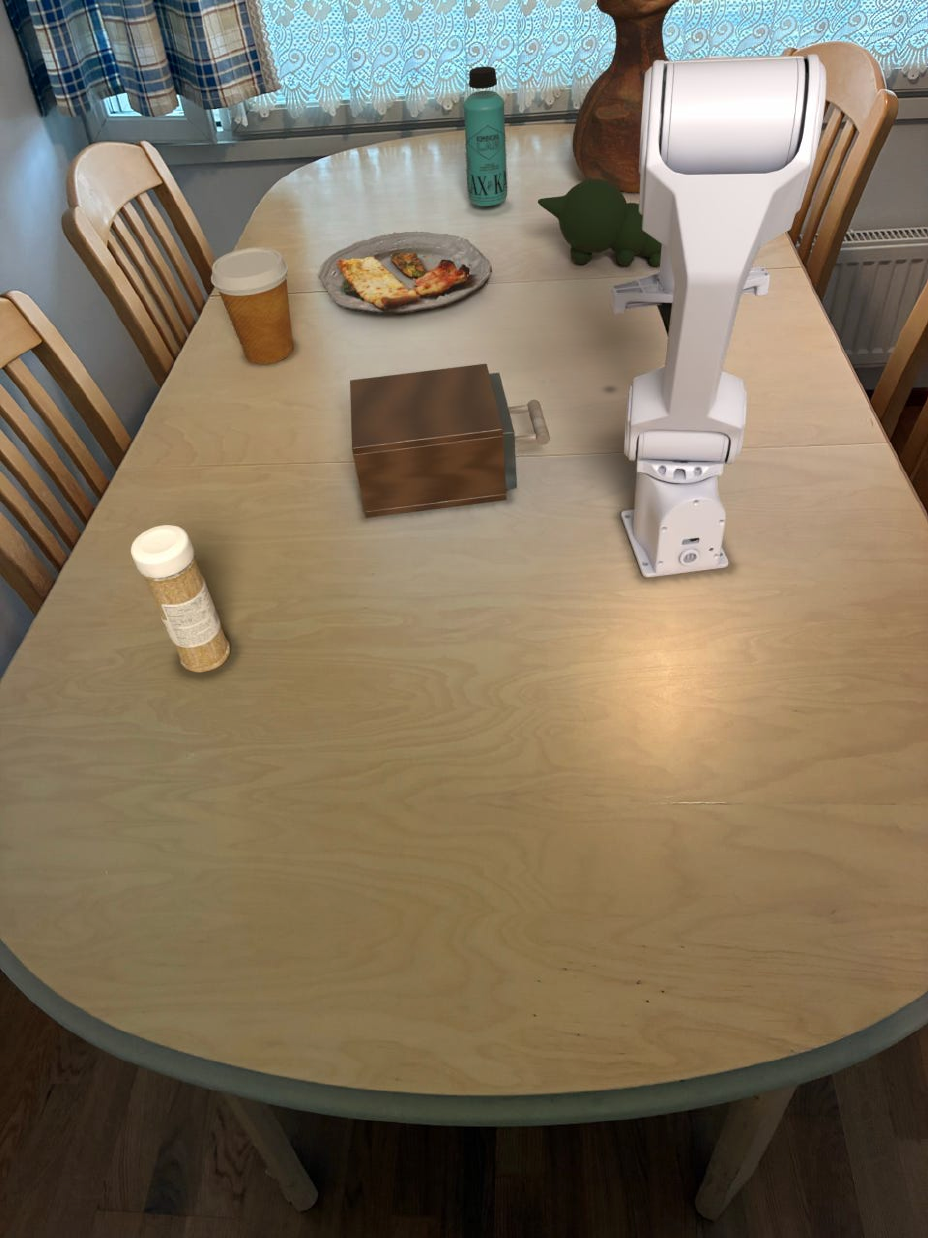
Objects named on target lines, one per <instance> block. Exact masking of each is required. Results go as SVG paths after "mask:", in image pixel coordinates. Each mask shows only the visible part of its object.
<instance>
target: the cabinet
mask: <svg viewBox="0 0 928 1238" xmlns="http://www.w3.org/2000/svg"><path fill="white" fill-rule="evenodd" d="M489 374H490V371H489V367H488V363H479V364H471V365H463V366H455V367H447V368H438V369H430V370H424V371H414V372H406V373H398V374H389V375H382V376H375V377H366V378H359V379H358V378H357V379H351V380H349V395H350V398H349V399H350V432H351V433H350V435H351V437H350V438H351V450H352V451H351V452H352V456H353V462H354V466H355V472H356V476H357V482H358V488H359V491H360V497H361V502H362V507H363V512H364V516H365V518H366V519H367V518H374V517H383V516H390V515H399V514H407V513H415V512H422V511H423V512H424V511H430V510H438V509H445V508H452V507H454V508H455V507H461V506H462V507H463V506H469V505H477V504H486V503H493V502H494V503H495V502H500V501H507V500H508V499H507V489H506V479H505V461H504V443H503V428H502V424H501V420H500V416H499V412H498V408H497V404H496V399H495V395H494V391H493V387H492V383H491V379H490V375H489Z"/></svg>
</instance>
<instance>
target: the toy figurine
mask: <svg viewBox="0 0 928 1238" xmlns="http://www.w3.org/2000/svg"><path fill="white" fill-rule="evenodd" d="M537 204H538V205H539V206H540V207H542V208H543V209H544V210H545V211H547V212H549V213H550V214H551V215H553V216H554V217H555V218H557V220H558V224H559V225H558V226H559V229H560V231H561V232H560V233H561V234H562V237H563V238H564V240H565V241H566V242H567V244H568V245H569V246H570V257H571V260H572V261H573V262H574V264H575V265H576V264H577V265H581V266H582V265H586V264H587V263H588V262H590V261H591V260H592V258H593V254H598V253H603V252H605V251H607V250H609V249H611V250H612V252H614V253H616V261H617V264H620V265H621V266H622V267H627V266H630V265H631V264H632V263H633V262H634V261H635V259H636V258H635V255H638V254H641V255H642V256H644V257H646V258H648V262H649V264H650V265H651V267H655V268H658V267H660V260H661V248H662V244H661V243H660V242H659V241H657V240H656V239H654V238H653V237H651V236H650V235H648V234H647V233H646V232H644V231H643V230H642V222H643V215H641V214H640V213H639V203H638V202H637V203H636V202H627V200H626V198H625V196H624V194H623V193H622V191H620V190H619V189H618V188H617V187H616V186H615V185H613V184H611V183H610V182H607V181H604V180H601V179H585V180H582V181H581V182H578V183H577V184H575V185H573V187H571V188H570V189H569V190H568V191H567V193H566V194H564V195H560V196H552V197H544V198H539V199H538V200H537Z"/></svg>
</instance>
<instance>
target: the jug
mask: <svg viewBox="0 0 928 1238" xmlns="http://www.w3.org/2000/svg"><path fill="white" fill-rule="evenodd" d="M679 1H680V0H596V2H595V4H596V7H597V9H598V10H599V11H600V12H601V13H603V14H605V15H608V16H609V17H611V19H612V20H613V24H614V29H615V45H614V53H613V56H612V60H611V62H610V64H609V66H608V68H606V69H605V70H604V71H602V73H601V74H600V75H599V76H598V77H597V78H596V79H595V81H594V82H593V83H592V84H591V86H590V88H589V89H588V91H587V93H586V94H585V97H584V99H583V101H582V103H581V106H580V108H579V111H578V113H577V116H576V120H575V124H574V125H575V126H574V128H573V133H572V152H573V157H574V160H575V163H576V166H577V168H578V170H579V172H580V174H581V175H582V176H583V177H585V178H586V179H587V180H589V179H601V180H604V181H607V182H610V183H611V184H613V185H615V186H616V187H617V188H618V189H619V190H620V191H621V192H624V193H631V194H636V193H637V194H640V176H641V174H640V173H639V156H640V138H641V122H642V107H643V92H644V80H645V73H646V72H647V70H648V69H649V68H650V67H653V63H654V61H656V60H664V61H671V60H670V59H669V58H668V56H667V54H666V51H665V43H664V35H663V27H664V22H665V19H666V16H667V15H668V12H669V11H670V9H671V8H672V7H673V6H674V5H675V4H677V3H678V2H679Z"/></svg>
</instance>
